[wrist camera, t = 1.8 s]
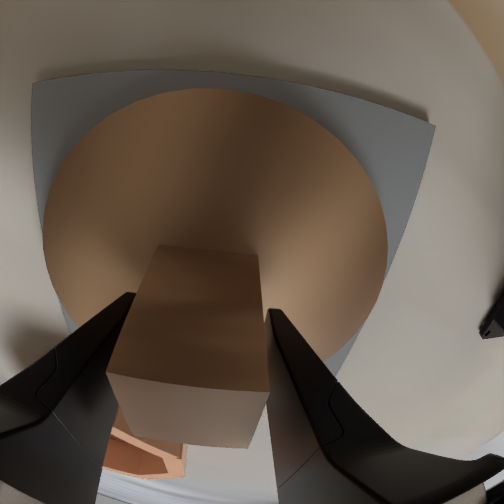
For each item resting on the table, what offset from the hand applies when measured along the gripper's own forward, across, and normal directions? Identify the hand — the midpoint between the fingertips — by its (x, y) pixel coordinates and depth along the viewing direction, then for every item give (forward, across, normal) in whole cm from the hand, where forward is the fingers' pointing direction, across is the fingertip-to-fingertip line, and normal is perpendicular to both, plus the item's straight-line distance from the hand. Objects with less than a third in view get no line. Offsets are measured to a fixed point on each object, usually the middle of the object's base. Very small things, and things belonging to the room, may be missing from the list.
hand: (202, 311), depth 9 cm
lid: (+2, 0, 0) cm, 2 cm away
